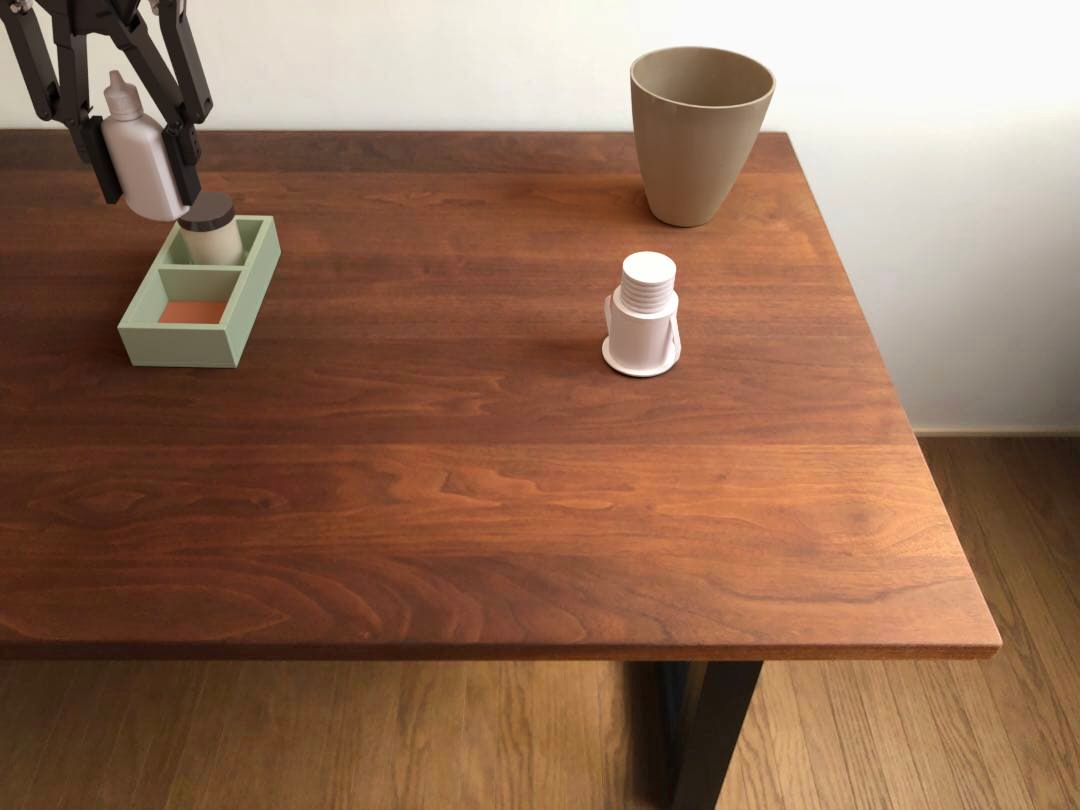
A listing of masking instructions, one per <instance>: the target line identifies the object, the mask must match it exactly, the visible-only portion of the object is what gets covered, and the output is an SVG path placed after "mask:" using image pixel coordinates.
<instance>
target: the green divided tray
mask: <svg viewBox="0 0 1080 810" xmlns="http://www.w3.org/2000/svg"><path fill="white" fill-rule="evenodd" d="M235 218H236V221H237V225H238V229H239V233H240V237H241V241H242V244H243V248H244V252H245V256H246V262H245V264H244V266H225V265H192V263H191V259H190V256H189V253H188V250H187V247H186V243H185V240H184V237H183V234H182V231H181V228H180V225H179V224H178V222H177V220H175V223H174V224H173V226H172V228H171V229H170V231H169V234H168V235H167V237H166V239H165V241H164V242H163V244H162V246H161V248H160V250H159V252H158V253H157V254H156V256H155V259H154V260H153V262H152V264H151V266H150V267H149V269H148V271H147V273H146V274H145V276H144V278H143V280H142V281H141V283H140V285H139V287H138V288H137V291H136V293H135V294H134V296H133V298H132V300H131V302H130V303H129V305H128V307H127V309H126V310H125V312H124V314H123V316H122V318H121V319H120V322H119V323H118V325H117V327H116V329H117V330H118V333H119V335H120V337H121V341H122V343H123V345H124V348H125V350H126V352H127V355H128V358H129V360H130V363H131V364H132V366H133V367H169V368H170V367H171V368H214V369H215V368H219V369H220V368H221V369H224V368H225V369H237V367H238V365H239V363H240V360H241V357H242V355H243V352H244V349H245V347H246V345H247V342H248V339H249V336H250V334H251V333H252V329H253V326H254V324H255V322H256V319H257V316H258V313H259V311H260V308H261V306H262V304H263V301H264V298H265V295H266V293H267V290H268V288H269V285H270V283H271V281H272V279H273V275H274V272H275V270H276V268H277V264H278V262H279V259H280V257H281V254H282V250H281V245H280V241H279V237H278V233H277V228H276V223H275V220H274V216H273V215H253V214H252V215H246V214H235Z"/></svg>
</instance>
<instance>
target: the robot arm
mask: <svg viewBox="0 0 1080 810" xmlns="http://www.w3.org/2000/svg"><path fill="white" fill-rule="evenodd" d="M141 1H142V0H0V21H1V22H2V23H3V25H4V28H5V31H6V34H7V37H8V40H9V43H10V45H11V47H12V50H13V51H12V52H13V53H14V56H15V59H16V62H17V64H18V68H19V70H20V73H21V77H22V78H23V81H24V84H25V87H26V89H27V93H28V95H29V99H30V102H31V104H32V106H33V110H34V112H35V115H36V117H37V118H38V119H39V120H41V121H43V122H50V121H51V120H52V121H54V122H58V123H60V124H62V125H64V127H66V128H67V129H68V132H69V134H70V136H71V139H72V142H73V144H74V146H75V149H76V152H77V155H78V157H79V159H80V160H81V161H82V163H83V164H85V165H87V164H89V165H91V166H92V169H93V171H94V173H95V176H96V179H97V183H98V185H99V187H100V190H101V193H102V195H103V199H104V201H105V203H106V205H117V203H118V202H119V201H120V199H121V197H122V196H123V192H122V189H121V186H120V183H119V181H118V178H117V175H116V172H115V169H114V167H113V164H112V161H111V158H110V155H109V153H108V150H107V147H106V144H105V141H104V138H103V135H102V132H101V123H102V121H103V120H104V118H103V115H91V116H89V114H91V112H92V110H93V109H94V105H91V103H90V83H89V61H88V60H89V59H88V41H87V38H88V35H90V34H97V35H102V36H105V37H109V38H110V40H111V41H112V43H113V44H114V46H115V48H117V50H118V51H122V52H123V54H124V55H125V57H126V59H127V61H128V62H129V63H130V65H131V67H132V69H133V70H134V72H135V74H136V75H137V77H138V78H139V80H140V81H141V83H142V85H143V87H144V88H145V90H146V92H147V93H148V95H149V96H150V98H151V99H152V101H153V103H154V104H155V106H156V108H157V109H158V111H159V112H160V114H161V116H162V117H163V119H164V121H165V122H166V124H165V126H164V127H163V128H164V129H163V131H162V132H161V135H162V139H163V142H164V145H165V148H166V152H167V155H168V158H169V161H170V165H171V168H172V171H173V174H174V178H175V181H176V184H177V187H178V191H179V194H180V197H181V200H182V204H183V206H192V205H193V204H194V202H195V200H196V198H197V196H198V194H199V193H200V192H202V185H201V182H200V179H199V178H200V177H199V176H198V171H197V169H196V165H198V162H199V160H200V159H201V158H202V157H201V156H202V149H201V145H200V141H199V137H198V134H197V130H196V127H195V125H202V124H204V123H205V121H206V119H207V118H208V116H209V114H210V113H211V111H212V109H213V108H214V101H213V98H212V94H211V91H210V87H209V84H208V82H207V78H206V75H205V71H204V67H203V65H202V62H201V58H200V55H199V52H198V48H197V45H196V42H195V40H194V35H193V32H192V29H191V26H190V23H189V18H188V15H187V3H188V2H187V0H147V1H148V2H149V6H150V9H151V13H152V14H153V15H154V16H156V17H158V26H159V29H160V33H161V36H162V39H163V42H164V46H165V49H166V52H167V54H168V58H169V62H170V63H171V64H170V65H171V66H172V70H173V72H174V75H173V74H172V72H171V70H170V69H169V66H168V65H167V63H166V61H165V59H164V58H163V56H162V55H161V53H160V51H159V49H158V48H157V46H156V45H155V43H154V41H153V39H152V37H151V36H150V34H149V27H148V24H147V22H146V21H145V19H144V17H143V16H142V14H141V12H140V10H139V6H140V3H141ZM33 2H36V3H37V5H39V7H40V8H42V9H43V10H44V11H45V12H46V13H47V14H48V15H49V16H50V18H51V30H52V41H53V44H54V45H55V46H56V56H57V69H58V78H57V74H56V71H55V68H54V66H53V62H52V59H51V56H50V53H49V50H48V47H47V44H46V41H45V38H44V35H43V32H42V29H41V26H40V22H39V20H38V16H37V14H36V12H35V10H34V7H33V5H34V3H33ZM174 76H175V77H174Z"/></svg>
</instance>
